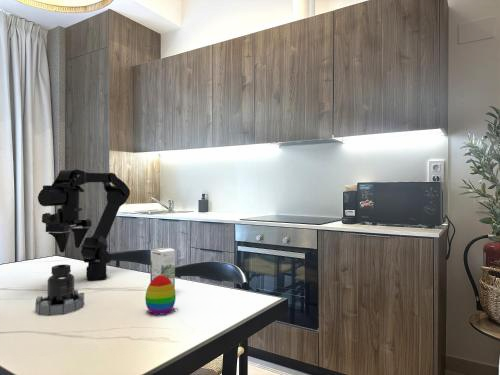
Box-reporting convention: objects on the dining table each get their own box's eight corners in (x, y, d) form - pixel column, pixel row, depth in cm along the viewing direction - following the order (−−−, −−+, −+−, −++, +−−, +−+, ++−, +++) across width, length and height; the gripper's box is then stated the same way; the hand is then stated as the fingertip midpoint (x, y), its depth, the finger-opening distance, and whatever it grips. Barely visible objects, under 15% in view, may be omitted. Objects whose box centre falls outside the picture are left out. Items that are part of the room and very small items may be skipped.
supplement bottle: (41, 309, 99) (42, 267, 99) (64, 302, 105) (64, 262, 105) (57, 313, 96) (57, 269, 96) (79, 306, 102) (79, 264, 102)
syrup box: (164, 289, 118) (164, 247, 119) (175, 293, 115) (175, 248, 115) (149, 293, 114) (150, 249, 114) (161, 297, 110) (161, 251, 110)
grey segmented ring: (86, 299, 108) (86, 288, 108) (80, 312, 97) (80, 299, 97) (41, 303, 104) (41, 291, 104) (31, 317, 93) (31, 304, 93)
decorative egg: (180, 311, 97) (181, 275, 97) (153, 318, 92) (153, 280, 92) (167, 304, 103) (167, 270, 103) (140, 310, 98) (140, 274, 98)
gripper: (63, 204, 132) (63, 245, 132) (29, 206, 113) (29, 254, 113) (92, 204, 131) (92, 245, 131) (63, 206, 112) (62, 254, 112)
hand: (69, 249), depth 122 cm, fingers open, 9 cm apart
